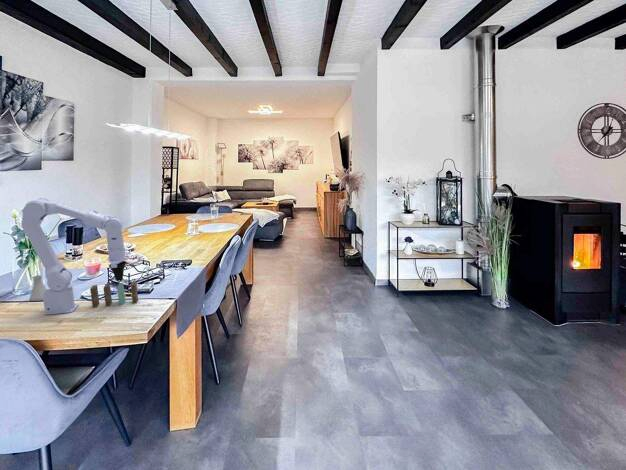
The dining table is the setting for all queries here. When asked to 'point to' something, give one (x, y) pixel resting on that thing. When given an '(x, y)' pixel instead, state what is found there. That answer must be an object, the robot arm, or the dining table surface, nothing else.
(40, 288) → the flask
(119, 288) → the domino
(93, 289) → the domino
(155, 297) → the dining table surface
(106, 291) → the domino
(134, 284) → the domino
